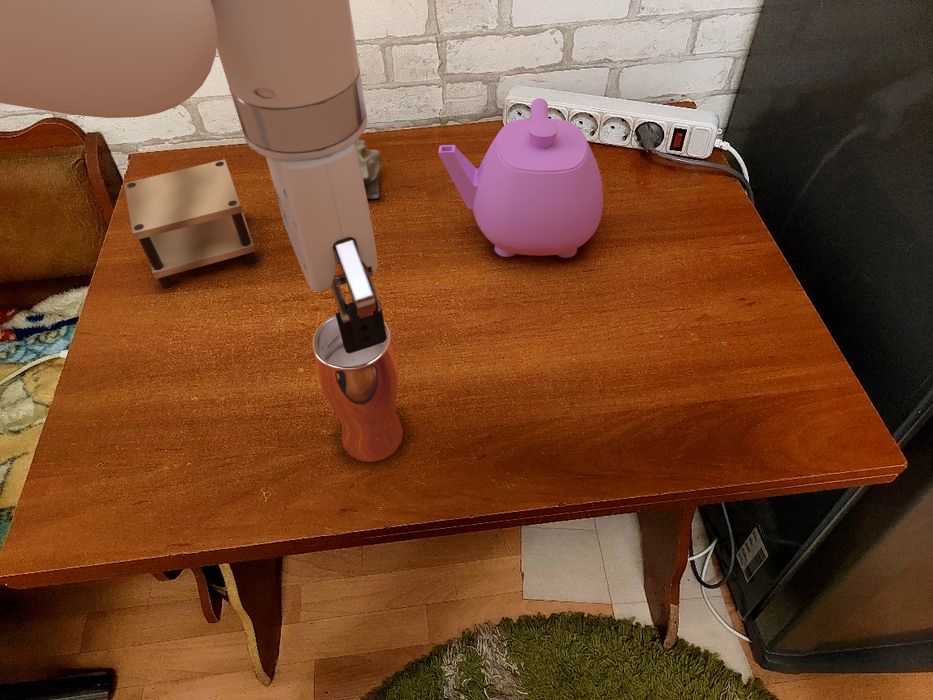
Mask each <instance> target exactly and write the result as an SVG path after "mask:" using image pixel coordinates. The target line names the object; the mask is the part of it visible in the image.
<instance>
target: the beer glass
mask: <svg viewBox="0 0 933 700" xmlns="http://www.w3.org/2000/svg"><path fill="white" fill-rule="evenodd" d="M384 324H385V330H386V336H387V340H386V341H385V342H383V343H380V344H377V345H374V346H372V347H369V348H366V349H362V350H359V351H356V352H353V353H346V351H345V348H344V346H343V342H342V338H341V334H340V330H339V326H338V322H337V318H336V314H333V315H332V316H329V317H328V318H326V319H325V320H324V321H323V322H322V323H320V324H319V326H318V327H317V328H316V330H315V331H314V333H313V336H312V340H311V347H312V350H313V356H314V360H315V361H314V362H315V368H316V372H317V377H318V381H319V384H320V386H321V390H322V392H323V395H324V396H325V398H326V400H327V402H328V403H329V405H330V407H331V408H332V411H333V412H334V413H335V415H336V416H337V418H338V419H339V421H340V422H341V442H342V446H343V448H344V450H345V451H346V453H347V454H348V455H349V456H350V457H351V458H353V459H355V460H357V461H360V462H364V463H376V462H380V461H383V460H385V459H388V458H389V457H391V456H393V455H394V453H396V452H397V450H398V449H399V447H400V446H401V444H402V442H403V437H404V429H403V426H402V422H401V421H400V419H399V417H398V415H397V412H396V411H397V410H396V407H397V406H396V405H397V399H398V391H399V377H400V376H399V375H400V373H399V365H398V358H397V354H396V350H395V346H394V343H393V338H392V335H391V330H390V327H389V325H388V323H387V322H386V321H385V320H384Z"/></svg>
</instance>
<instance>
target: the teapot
mask: <svg viewBox="0 0 933 700" xmlns="http://www.w3.org/2000/svg"><path fill="white" fill-rule="evenodd" d="M529 113H530V114H529V118H520V119H515V120H512V121H509V122H508V123H506V124H504V125H503V126H502V127H501V129H499V131H498V133H497V134H496V136H495V138H493V141H492V142H491V144H490V146H489V147H488V149H487V151H486V153H485V155H484V157H483V158H482V160H481V163H480V165H479V167H478V168H477V167H476V166H475V165H473V163H472V162H471V161H470V160H469V159H468V158H467V157H466V156H465V155H464V154H463V153H462V152H461V151H460V150H459V149H458V148H457V147H456V144H441V145H440V144H439V147H438V152H437V153H438V157H439V159H440V161H441V162H442V165H443V166H444V168H445V170H446V172H447V173H448V175H449V177H450V179H451V181H452V183H453V184H454V187H455V188H456V190H457V192H458V194H459V195H460V197H461V199H462V201H463V203H464V204H465V206H466V208H467V209H469V210H472V212H473V216H474V219H475V222H476V224H477V226H478V228H479V230H480V231H481V232H482V234H483V235H484V236H485V238H486V239H487V240H488V241H489V242H490V243H491V244H492V245H494V252H495V253H496V254H497V255H498V256H500V257H504V258H509V257H513V256H515V255H522V256H557V257H560V258H565V259H566V258H572V257H574V256H575V255H577V252H578V248H580V247H581V246H583V245H584V244H586V242H588V241H589V240H590V239H591V238H592V237H593V236H594V234H595V232H596V231H597V229H598V227H599V225H600V222H601V220H602V217H603V208H604V192H603V191H604V190H603V181H602V176H601V172H600V169H599V165H598V163H597V160H596V158H595V155H594V152H593V150H592V148H591V146H590V143H589V141H588V139H587V138H586V136H585V134H584V132H583V131H582V130H581V129H580V127H578V126H577V125H575V124H574V123H573V122H571V121H568V120H564V119H559V118H549V104H548V102H547V101H546V99H544V98H541V97H538V98H535V99H533V100H532V102H531V104H530V112H529Z"/></svg>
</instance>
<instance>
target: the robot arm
mask: <svg viewBox="0 0 933 700" xmlns="http://www.w3.org/2000/svg"><path fill="white" fill-rule="evenodd" d="M353 23H354V22H353V17H352V10H351V4H350V0H0V104H2V105H3V104H4V105H11V106H17V107H22V108H28V109H35V110H41V111H47V112H53V113H59V114H67V115H73V116H82V117H83V116H84V117H91V118H93V117H94V118H104V119H124V118H141V117H147V116H152V115H157V114H160V113H163V112H166V111H168V110H171V109H174V108H176V107H178V106H179V105H181V104H182V103H184V102H185V101H187V100H189V99H191V97H193V96H194V94H195V93H196V92H197V91H198V90H200V88H201V87H202V86H203V85H204V83H205V82H206V80H207V78H208V77H209V75H210V73H211V71H212V68H213V65H214V62H215V60H216V59H215V58H216V56H217V53H218V57H219V59H220V63H221V67H222V70H223V73H224V75H225V79H226V83H227V85H228V89H229V93H230V95H231V99H232V102H233V106H234V109H235V111H236V115H237V118H238V121H239V125H240V128H241V131H242V133H243V137H244V140H245V142H246V144H247V145H248V147H249V148H250V149H251V150H252V151H254V152H256V153H257V154H259V155H260V156H263V157H265V158H266V159H265V160H266V163H267V166H268V170H269V173H270V177H271V181H272V184H273V188H274V190H275V195H276V199H277V202H278V207H279V211H280V215H281V219H282V222H283V225H284V228H285V230H286V233H287V236H288V238H289V241H290V244H291V247H292V249H293V251H294V253H295V256H296V259H297V261H298V262H297V263H298V264H299V266H300V269H301V271H302V274H303V276H304V278H305V280H306V283H307V286H308V287H309V288H310V289H311V290H312V291H314V292H316V293H321V292H324V291H327V290H331V291H332V295H333V298H334V300H335V304H336V307H337V310H338V312H335V313H334V315H336V318H337V322H338V326H339V330H340V334H341V338H342V342H343V346H344V348H345V351H346V353H353V352H356V351H359V350H362V349H366V348H369V347H372V346H374V345H377V344H380V343H383V342H385V341H386V340H387V336H386V330H385V324H384V321H385V319H384V314H383V309H382V303H381V302H380V300H379V297H378V295H377V291H376V288H375V284H374V281H373V279H372V278H373V277H374V275H375V274H376V272H377V271H378V269H379V262H378V261H379V260H378V252H377V244H376V239H375V233H374V228H373V227H374V226H373V221H372V217H371V211H370V206H369V200H368V197H367V196H366V191H365V186H364V181H363V172H362V171H361V167H360V163H359V158H358V153H357V149H356V144H355V141H356V140H358V139H359V140H360V138H361V137H362V135H363V134H364V132H365V130H366V129H367V125H368V115H367V108H366V107H367V106H366V102H365V101H366V100H365V94H364V88H363V83H362V75H361V69H360V62H359V61H360V60H359V55H358V50H357V43H356V37H355V30H354V24H353ZM338 266H340V269H341V271H342V274H338V275H336V273H337V269H338ZM342 285H347V288H348V291H349V293H350V299H351V302H349V303H346V300H345V297H344V293H343V290H342V288H341V286H342Z"/></svg>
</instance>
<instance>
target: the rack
mask: <svg viewBox="0 0 933 700" xmlns="http://www.w3.org/2000/svg"><path fill="white" fill-rule="evenodd" d="M123 186H124V191H125V197H126V203H127V209H128V216H129V222H130V227H131V234H132V236H133V238H134V240H135V241H139V243H140V245H141V247H142V249H143V251H144V254H145V255H146V257H147V260H148V261H149V263H150V269H151V273H152V275H153V278H154V279H155V280H157V279H158V282H159V283H160V285H161V288H163V289H170V288H171V287H172V286H173V282H172V280H171V278H170V276H172V275H175V274H179V273H183V272H187V271H190V270H193V269H197V268H201V267H205V266H207V265H212V264H215V263H218V262H222V261H226V260H230V259H233V258H238V257H240V256H245V259H246V262H247V264H249V265H254V264H256V263H257V262H258V258H257V255H256V252H257V250H256V247H255V244H254V240H253V237H252V235H251V232H250V229H249V226H248V223H247V221H246V217H245V214H244V211H243V208H242V205H241V201H240V199H239V196H238V193H237V190H236V187H235V184H234V181H233V178H232V175H231V172H230V170H229V166H228V163H227V161H226V159H225V158H224V159H220V160H215V161H211V162H207V163H204V164H203V163H202V164H200V165H195V166H191V167H187V168H186V167H185V168H183V169H178V170H175V171H170V172H165V173H161V174H156V175H153V176H149V177H146V178H140V179H136V180H132V181H129V182H124V183H123Z"/></svg>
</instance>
